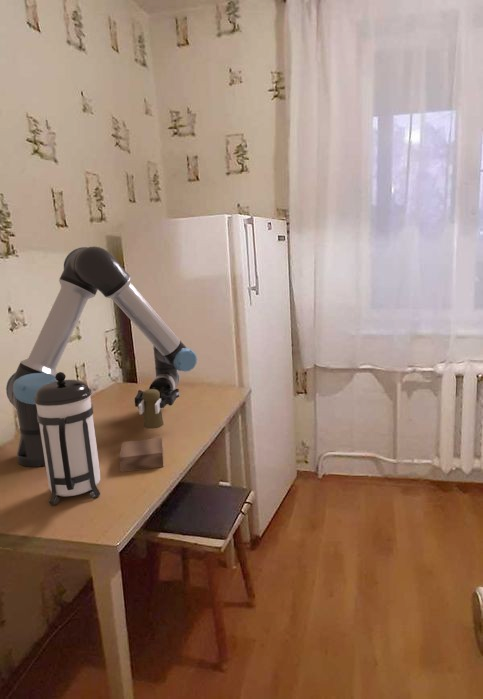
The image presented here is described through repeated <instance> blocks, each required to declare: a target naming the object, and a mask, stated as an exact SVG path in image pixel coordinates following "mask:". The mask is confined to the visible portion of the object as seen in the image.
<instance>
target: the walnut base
mask: <svg viewBox="0 0 483 699" xmlns="http://www.w3.org/2000/svg"><path fill="white" fill-rule="evenodd" d="M118 457H119V458H118V459H119V460H118V461H119V465H120V466H119V467H120V472H121V473H123V472H124V473H125V472H131V471H133V472H134V471H139V470H148V469H156V468H157V469H158V468H164V446H163V438H162V437H156V438H154V437H153V438H148V439H139V440H130V441H123V442H121V449H120V453H119V456H118Z"/></svg>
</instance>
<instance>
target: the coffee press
mask: <svg viewBox="0 0 483 699" xmlns="http://www.w3.org/2000/svg"><path fill="white" fill-rule="evenodd" d="M66 377H67V375H66V374H65V373H64V372H61V371H59V372H57V374H56V376H55V378H56V380H57V381H55V382H51V383H48V384H46V385H44V386H42V387H40V388H39V389H38V390H37V392H36V395H35V397H34V403H35V404H36V406H37V420H38V423H39V426H40V433H41V439H42V446H43V452H44V459H45V465H44V466H45V471H46V476H47V477H46V478H47V483H48V485H47V486H48V489H49V491H50V492H51V495H50V498H49V500H48V503H49V505H51V506H52V505H53V506H57V505H58V503H59V502H60V500H61V498H62V497H73V496H78V495H82V494H85V493H88V494H89V495H90V497H92V498H93V499H96V498H98V497H100V496H101V492H100V489H98V487H97V486H98V485H99V483H100V481H101V471H100V462H99V454H98V446H97V439H96V430H95V424H94V406H93V403H92V399H91V396H92V389H91V388H90V387H89V386H88V384H87V383H86V382H84V381H82V380H79V379H66Z"/></svg>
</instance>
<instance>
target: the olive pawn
mask: <svg viewBox="0 0 483 699" xmlns="http://www.w3.org/2000/svg"><path fill="white" fill-rule="evenodd" d="M148 389H149V388H148ZM148 389H146V390H143V391H144V392H143V394H142V398H143V400H144V401H145V410H144V412H143V428H145V429H151V430H152V429H153V430H154V429H159V428H162V427H163V426H165V424H164V418H163V414H162V410H161V409H162V408H161V409H160V411H159V413H158V414H155V404H156V402H157V400H159V398H160V393H159V391H158V390H156V389H149V390H148Z"/></svg>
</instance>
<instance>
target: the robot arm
mask: <svg viewBox="0 0 483 699" xmlns="http://www.w3.org/2000/svg"><path fill="white" fill-rule="evenodd" d="M58 282H59V284H60V289H59V292H58V294H57V296H56V298H55V301H54V302H53V304H52V306H51V309H50V311H49V313H48V315H47V317H46V319H45V321H44V323H43V325H42V328H41V330H40V332H39V334H38V336H37V339H36V341H35V343H34V345H33V346H32V349H31V351H30V353H29V356H28V357H27V359H23V360H21V361H20V362H19V364H18V367H17V368H16V371H15V372H14V373H13V374H11V376H10V377H9V378H8V380H7V383H6V387H5V390H6V397H7V399H8V401H9V402H10V403H11V405H12V406H13V407H14V408H15V409H16V414H17V421H18V425H19V426H18V427H19V432H20V437H19V441H18V448H17V453H16V456H17V462H18V464H19V465H21V466H23V467H33V468H35V467H43V466H45V459H44V452H43V446H42V439H41V433H40V426H39V423H38V420H37V406H36V404H35V403H34V397H35V395H36V392H37V390H38V389H39V388H40V387H42V386H44V385H46V384H48V383H51V382H55V381H57V380H56V378H55V376H56V374H57V373H58V372H57V367H58V365H59V362H60V360H61V358H62V357H63V354H64V352H65V349H66V347H67V346H68V343H69V341H70V339H71V337H72V334H73V332H74V330H75V329H76V326H77V324H78V322H79V319H80V317H81V314H82V312H83V311H84V308H85V307H86V304H87V302H88V300H89V299H92V298H94V297H96V295H97V292H98V291H99V292H100V293H101V294H102V295H103V296H104V297H105V298H106V299H107V298H108V299H112V301H113V302H114V303H115V304H116V305H117V307H119V308H120V309H121V311H122V312H123V314H125V315H126V317H127V318H128V319H129V320H130V321H131V322H132V323H133V324H134V326H136V328H137V329H138V330H139V331H140V332H141V333H142V335H144V336H145V337H146V339H147V340H148V341H149V342H150V343H151V344H152V345H153V347H152V348H153V355H154V356H153V357H154V365H155V366H154V367H155V368H154V369H155V371H154V372H155V378H154V380H152V382H151V384H150V386H149V387H148V389H147V390H149V389H156V390H158V391H159V393H160V398H159V400H157V402H156V404H155V414H158V413H159V411H160V409H164V408H165V407H166V406H172V405H174V403H175V401H176V400H177V398H179V397H180V390H179V388H176V387H177V386H178V384H179V382H180V374H179V372H184V373H185V372H190V371H191V370H193V369H195V367H196V365H197V362H198V357H197V354H196V353H195V351H193V350H192V349H191V348H189V347H187V346H186V345H185V344H184V343H183V342H182V340H181V339H180V338H179V337H178V336H177V335H176V333H174V331H173V330H172V329H171V328H170V327H169V326H168V324H167V323H166V322H165V321H164V320H163V318H161V316H160V315H159V314H158V313H157V312H156V311H155V309H154V308H153V307H152V306H151V305H150V302H148V301H147V299H145V298H144V296H143V295H142V294H141V292H140V291H139V290H138V289H137V288H136V287H135V285H133V283H132V282H131V275H129V273H128V272H127V271H126V270H125V268H124V267H123V266H122V265H121V264H120V262H118V260H117V259H116V258H115V257H114V255H113V254H111V253H110V252H109V251H108V250H106V249H104V248H103V247H100V246H88V247H87V246H85V247H84V246H82V247H78V248H75V249H73V250H72V251H70V252H69V253H68V254H67V255H66V257H65V259H64V261H63V271H62V273H61V275H60V276H59V279H58ZM178 371H179V372H178ZM144 391H145V390H140V389H139V390H137V394H136V396H135V397H134V406H135V407H136V408H137V409H138V414H139V415H143V414H144V410H145V401H144V400H143V398H142V394H143V392H144Z"/></svg>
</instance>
